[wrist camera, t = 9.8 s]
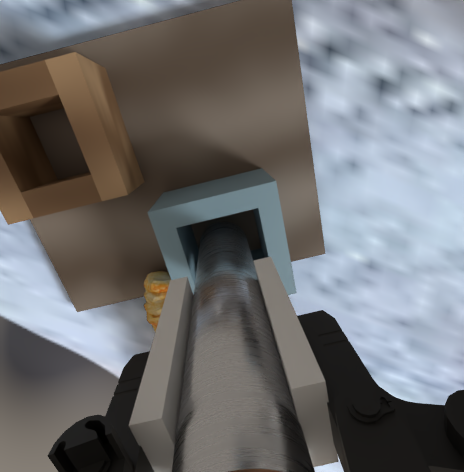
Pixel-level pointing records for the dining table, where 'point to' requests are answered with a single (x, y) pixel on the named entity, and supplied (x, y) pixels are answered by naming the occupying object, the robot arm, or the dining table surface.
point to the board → (184, 139)
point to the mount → (85, 129)
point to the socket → (214, 206)
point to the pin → (234, 371)
